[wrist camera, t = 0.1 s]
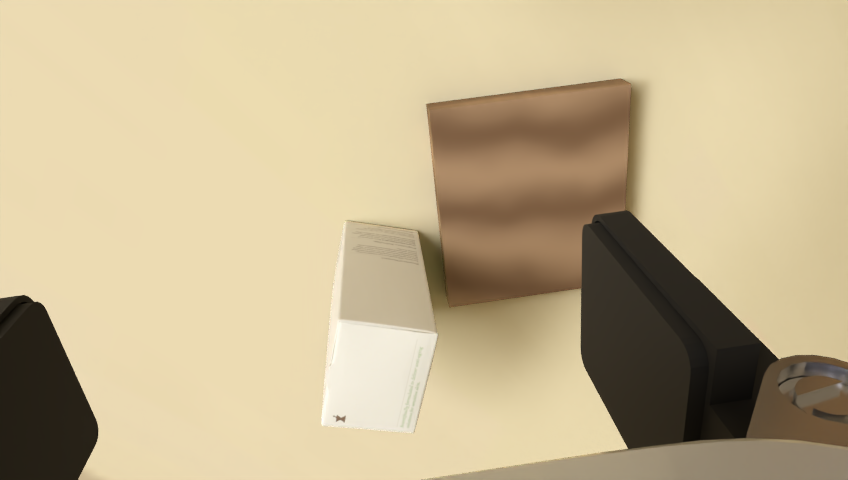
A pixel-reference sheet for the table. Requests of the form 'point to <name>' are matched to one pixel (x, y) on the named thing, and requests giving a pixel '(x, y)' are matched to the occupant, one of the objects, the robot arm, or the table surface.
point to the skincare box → (378, 331)
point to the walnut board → (525, 185)
